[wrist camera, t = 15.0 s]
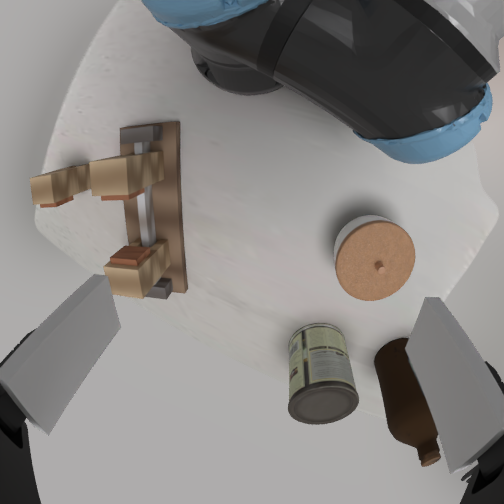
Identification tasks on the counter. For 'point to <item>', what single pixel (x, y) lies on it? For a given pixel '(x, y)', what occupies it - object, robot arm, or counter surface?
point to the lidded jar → (373, 257)
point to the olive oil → (406, 402)
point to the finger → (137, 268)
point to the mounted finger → (125, 175)
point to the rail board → (158, 202)
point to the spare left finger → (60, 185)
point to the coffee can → (320, 376)
